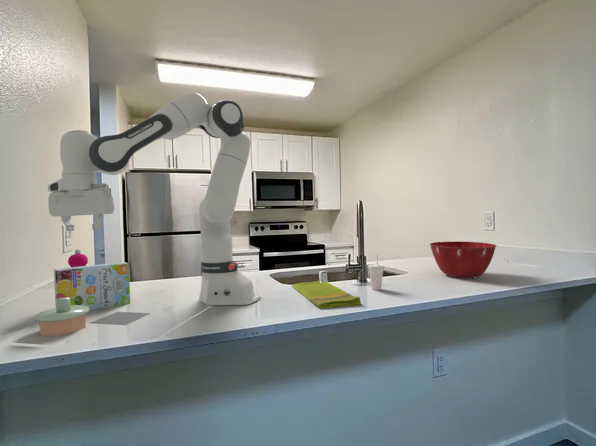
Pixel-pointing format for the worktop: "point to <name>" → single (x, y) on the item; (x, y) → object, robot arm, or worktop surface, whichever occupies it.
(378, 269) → the smoothie
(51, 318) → the lid
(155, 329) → the worktop surface
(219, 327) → the worktop surface
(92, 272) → the snack box
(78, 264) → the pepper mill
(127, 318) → the mat
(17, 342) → the worktop surface
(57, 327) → the bowl
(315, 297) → the dish towel
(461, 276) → the mixing bowl
